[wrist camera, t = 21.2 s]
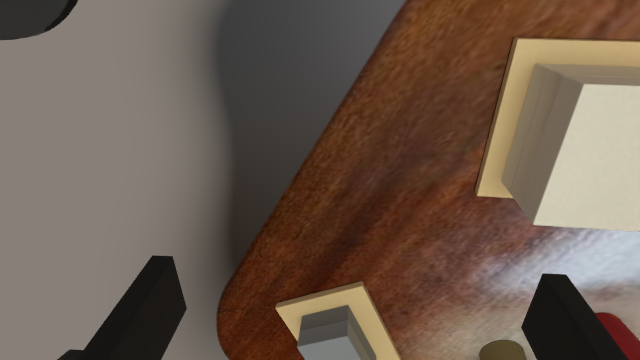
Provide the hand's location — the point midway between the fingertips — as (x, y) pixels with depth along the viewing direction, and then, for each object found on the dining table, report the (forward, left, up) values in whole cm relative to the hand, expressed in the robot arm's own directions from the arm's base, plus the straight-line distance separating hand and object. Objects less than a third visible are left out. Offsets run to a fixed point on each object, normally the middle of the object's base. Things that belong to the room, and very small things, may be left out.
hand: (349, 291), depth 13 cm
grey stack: (+33, -9, -26) cm, 43 cm away
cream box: (+7, +19, -26) cm, 33 cm away
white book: (+7, +19, -20) cm, 28 cm away
